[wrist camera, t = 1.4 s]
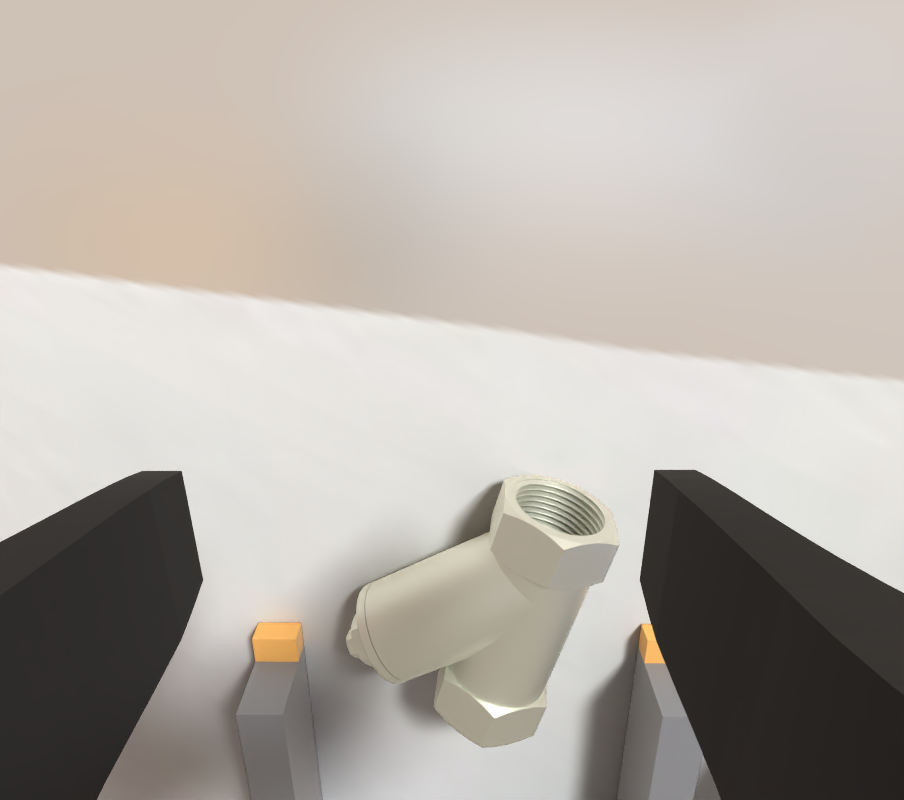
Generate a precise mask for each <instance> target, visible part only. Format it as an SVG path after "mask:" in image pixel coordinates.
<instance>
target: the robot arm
mask: <svg viewBox="0 0 904 800" xmlns="http://www.w3.org/2000/svg"><path fill="white" fill-rule="evenodd" d="M202 582H203V577H202V572H201V567H200V562H199V557H198V552H197V547H196V542H195V537H194V532H193V526H192V521H191V516H190V511H189V506H188V501H187V496H186V491H185V486H184V481H183V476H182V471H141V472H139V473H136V474H134V475H131V476H129V477H126V478H124V479H122V480H120V481H117V482H115V483H113V484H111V485H109V486H107V487H105V488H103V489H101V490H99V491H97V492H95V493H93V494H91V495H89V496H87V497H86V498H84V499H82V500H80V501H78V502H76V503H74V504H72V505H70V506H68V507H67V508H65V509H63V510H61V511H59V512H57V513H55V514H53V515H51V516H49V517H48V518H46V519H44V520H42V521H40V522H38V523H36V524H34V525H32V526H30V527H28V528H27V529H25V530H23V531H21V532H19V533H17V534H15V535H13V536H11V537H9V538H7V539H5V540H3V541H1V542H0V800H97V798H98V796H99V794H100V792H101V790H102V788H103V786H104V784H105V781H106V780H107V778H108V776H109V774H110V772H111V770H112V769H113V767H114V765H115V763H116V761H117V759H118V757H119V756H120V754H121V752H122V750H123V748H124V746H125V744H126V743H127V741H128V739H129V737H130V735H131V733H132V731H133V730H134V728H135V726H136V724H137V722H138V720H139V718H140V717H141V715H142V713H143V711H144V709H145V707H146V705H147V704H148V702H149V700H150V698H151V696H152V694H153V692H154V691H155V689H156V687H157V685H158V683H159V681H160V679H161V677H162V675H163V674H164V672H165V670H166V668H167V666H168V664H169V662H170V660H171V658H172V656H173V655H174V653H175V651H176V649H177V647H178V645H179V643H180V641H181V639H182V636H183V634H184V631H185V629H186V626H187V623H188V621H189V618H190V616H191V613H192V610H193V607H194V605H195V602H196V599H197V596H198V593H199V590H200V587H201V584H202ZM640 582H641V586H642V590H643V594H644V598H645V602H646V606H647V610H648V614H649V618H650V621H651V625H652V628H653V632H654V635H655V639H656V642H657V644H658V647H659V649H660V652H661V654H662V657H663V659H664V662H665V664H666V666H667V669H668V671H669V674H670V676H671V679H672V681H673V684H674V686H675V688H676V691H677V693H678V696H679V698H680V700H681V703H682V705H683V708H684V710H685V712H686V715H687V717H688V719H689V722H690V724H691V727H692V729H693V731H694V734H695V736H696V739H697V741H698V743H699V746H700V748H701V751H702V753H703V755H704V758H705V760H706V763H707V765H708V767H709V770H710V772H711V774H712V777H713V779H714V782H715V784H716V787H717V790H718V792H719V795H720V798H721V800H904V593H903V592H901V591H899V590H897V589H895V588H893V587H891V586H889V585H887V584H885V583H884V582H882V581H880V580H878V579H876V578H875V577H873V576H871V575H869V574H867V573H866V572H864V571H862V570H860V569H859V568H857V567H855V566H853V565H851V564H850V563H848V562H846V561H844V560H842V559H841V558H839V557H837V556H835V555H834V554H832V553H830V552H829V551H827V550H825V549H824V548H822V547H820V546H819V545H817V544H815V543H814V542H812V541H810V540H809V539H807V538H805V537H804V536H802V535H800V534H799V533H797V532H796V531H794V530H792V529H791V528H789V527H788V526H786V525H784V524H783V523H781V522H780V521H778V520H776V519H775V518H773V517H772V516H770V515H769V514H767V513H765V512H764V511H762V510H761V509H759V508H758V507H756V506H754V505H753V504H751V503H750V502H748V501H747V500H745V499H743V498H742V497H740V496H739V495H737V494H736V493H734V492H732V491H731V490H729V489H728V488H726V487H724V486H723V485H721V484H720V483H718V482H716V481H715V480H713V479H711V478H709V477H708V476H706V475H704V474H702V473H700V472H698V471H696V470H654V478H653V485H652V493H651V500H650V508H649V515H648V523H647V530H646V538H645V545H644V552H643V560H642V567H641V575H640Z"/></svg>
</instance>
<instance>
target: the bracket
mask: <svg viewBox="0 0 904 800" xmlns="http://www.w3.org/2000/svg"><path fill="white" fill-rule="evenodd" d="M252 643H253V649H254V655H255V661H256V662H255V664H254V667H253V670H252V672H251V675H250V678H249V680H248V683H247V686H246V688H245V691H244V693H243V696H242V699H241V701H240V704H239V707H238V709H237V712H236V720H237V725H238V731H239V736H240V742H241V747H242V752H243V758H244V763H245V769H246V774H247V779H248V785H249V790H250V796H251V800H322V792H321V784H320V776H319V768H318V759H317V751H316V743H315V735H314V726H313V718H312V710H311V702H310V693H309V685H308V677H307V669H306V660H305V652H304V644H303V636H302V627H301V623H258V625H257V628H256V630H255V633H254V635H253V638H252ZM702 756H703V753H702V751H701V748H700V746H699V743H698V741H697V739H696V736H695V734H694V731H693V729H692V727H691V724H690V722H689V719H688V717H687V715H686V712H685V710H684V708H683V705H682V703H681V700H680V698H679V696H678V693H677V691H676V688H675V686H674V684H673V681H672V679H671V676H670V674H669V671H668V669H667V666H666V664H665V662H664V659H663V657H662V654H661V652H660V649H659V647H658V644H657V642H656V639H655V635H654V632H653V628H652V625H651V624H642V625H641V632H640V639H639V646H638V653H637V660H636V667H635V674H634V681H633V688H632V695H631V702H630V709H629V716H628V723H627V730H626V737H625V744H624V751H623V758H622V765H621V772H620V779H619V786H618V793H617V800H693V798H694V794H695V789H696V784H697V780H698V775H699V770H700V765H701V761H702Z"/></svg>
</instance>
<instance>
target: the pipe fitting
mask: <svg viewBox="0 0 904 800" xmlns="http://www.w3.org/2000/svg"><path fill="white" fill-rule="evenodd" d="M618 547H619V539H618V531H617V526H616V521H615V519H614V516H613V514H612V512H611V511H610V509H609V508H608V507H606V506H605V505H604V504H603V503H602V502H601V501H599V500H598V499H597V498H596V497H594V496H593V495H591V494H590V493H588V492H586V491H585V490H583V489H581V488H579V487H577V486H575V485H573V484H570V483H568V482H565V481H562V480H559V479H556V478H552V477H547V476H541V475H523V476H516V477H511V478H507V479H504V481H503V484H502V487H501V490H500V493H499V495H498V498H497V501H496V504H495V507H494V510H493V513H492V518H491V526H490V531H489V532H487V533H485V534H482V535H480V536H478V537H475V538H473V539H471V540H468V541H466V542H464V543H461V544H459V545H457V546H454V547H452V548H450V549H447V550H445V551H443V552H440V553H438V554H436V555H433V556H431V557H429V558H427V559H424V560H422V561H420V562H417V563H415V564H413V565H410V566H408V567H406V568H404V569H401V570H399V571H397V572H394V573H392V574H390V575H387V576H385V577H383V578H380V579H378V580H376V581H373V582H371V583H369V584H367V585H365V586H364V587H363V588H362V590H361V591H360V593H359V596H358V599H357V605H356V614H355V616H354V618H353V621H352V625H351V630H349V632H348V634H347V637H346V644H347V648H348V650H349V652H350V654H351V656H353V657H355V658H358V659H361V661H362V662H363V663H365V664H367V665H368V666H371V667H374V669H375V670H376V671H377V673H378V674H379V675H380V676H381V677H382V678H383V679H385V680H386V681H388V682H390V683H393V684H401V683H404V682H406V681H409V680H411V679H413V678H416V677H419V676H421V675H424V674H427V673H430V672H432V671H435V670H438V669H439V671H438V677H437V684H436V691H435V699H434V709H435V710H436V711H437V712H438V713H439V714H440V715H441V716H442V717H443V719H444V720H445V721H446V722H448V723H449V724H450V725H451V726H452V727H453V728H454V729H455V730H456V731H458V732H459V733H460V734H462V735H463V736H464V737H466V738H467V739H469V740H470V741H472V742H474V743H475V744H477V745H479V746H480V747H482V748H485V747H497V746H502V745H508V744H511V743H514V742H518V741H521V740H523V739H526V738H528V737H531V736H533V735H534V733H535V731H536V729H537V727H538V725H539V722H540V720H541V718H542V716H543V713H544V711H545V709H546V701H547V685H546V684H547V682H548V680H549V677H550V675H551V673H552V671H553V668H554V666H555V664H556V662H557V659H558V657H559V655H560V653H561V650H562V648H563V646H564V644H565V641H566V639H567V637H568V635H569V632H570V630H571V628H572V626H573V623H574V621H575V619H576V617H577V614H578V612H579V610H580V607H581V605H582V603H583V601H584V598H585V596H586V594H587V592H588V589H589V587H590V586H592V585H595V584H598V583H601V582H603V581H604V578H605V576H606V574H607V572H608V569H609V567H610V565H611V563H612V561H613V558H614V556H615V554H616V552H617V549H618Z"/></svg>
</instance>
